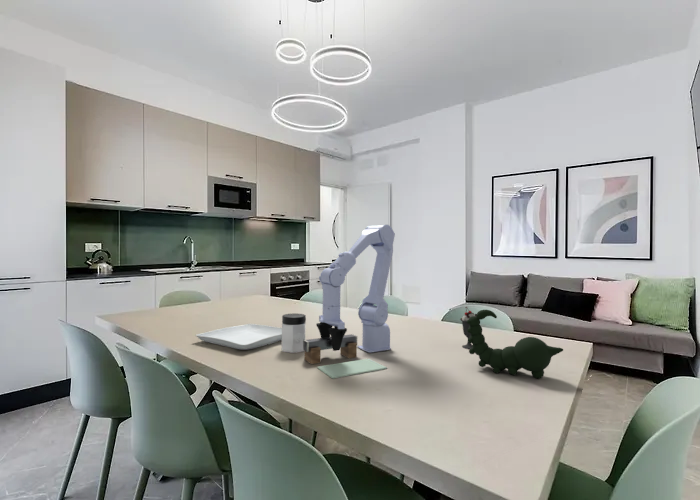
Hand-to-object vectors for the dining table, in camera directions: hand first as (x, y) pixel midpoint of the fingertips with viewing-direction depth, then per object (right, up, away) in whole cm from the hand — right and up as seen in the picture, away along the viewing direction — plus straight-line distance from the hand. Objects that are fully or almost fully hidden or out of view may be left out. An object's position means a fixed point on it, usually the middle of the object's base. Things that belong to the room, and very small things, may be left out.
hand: (330, 347), depth 118 cm
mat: (+7, -4, -10) cm, 13 cm away
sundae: (+50, -4, +16) cm, 52 cm away
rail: (0, 0, 0) cm, 0 cm away
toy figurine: (+53, -4, -12) cm, 55 cm away
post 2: (+6, -4, +3) cm, 7 cm away
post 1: (-6, -3, -3) cm, 7 cm away
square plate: (-33, -4, +22) cm, 40 cm away
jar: (-13, -4, +10) cm, 17 cm away
